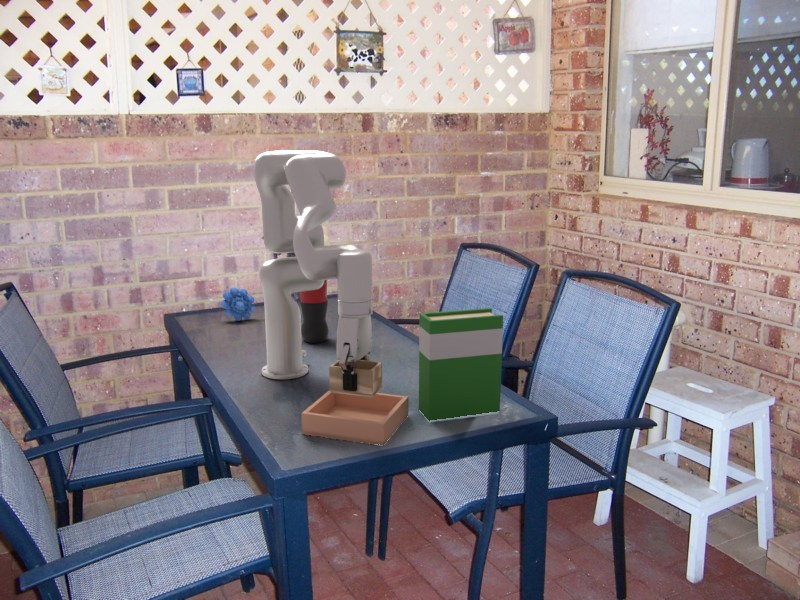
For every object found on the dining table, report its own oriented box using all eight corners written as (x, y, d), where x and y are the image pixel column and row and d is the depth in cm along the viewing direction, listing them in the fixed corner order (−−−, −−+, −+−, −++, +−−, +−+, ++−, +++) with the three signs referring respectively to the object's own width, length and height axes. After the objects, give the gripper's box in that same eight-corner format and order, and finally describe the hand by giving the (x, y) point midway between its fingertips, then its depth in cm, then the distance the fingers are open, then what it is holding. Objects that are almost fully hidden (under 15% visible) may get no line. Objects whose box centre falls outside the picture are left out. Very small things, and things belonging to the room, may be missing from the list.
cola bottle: (329, 336, 235) (327, 243, 227) (327, 344, 226) (325, 248, 219) (302, 336, 234) (299, 243, 227) (300, 344, 226) (297, 248, 219)
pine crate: (341, 382, 169) (340, 357, 167) (382, 387, 166) (382, 362, 164) (329, 392, 163) (329, 366, 161) (372, 397, 160) (371, 371, 158)
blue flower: (224, 325, 247) (222, 290, 244) (220, 320, 253) (218, 286, 250) (258, 322, 251) (257, 287, 248) (254, 317, 257) (252, 283, 254)
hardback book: (487, 402, 180) (490, 307, 174) (499, 414, 173) (503, 315, 167) (418, 410, 175) (419, 313, 169) (428, 422, 168) (430, 321, 162)
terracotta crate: (333, 406, 177) (332, 387, 176) (408, 416, 171) (408, 396, 170) (302, 434, 161) (301, 413, 160) (383, 446, 156) (383, 424, 154)
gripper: (354, 297, 169) (355, 371, 173) (322, 315, 153) (324, 396, 157) (384, 299, 167) (385, 374, 171) (356, 318, 151) (357, 400, 155)
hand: (356, 384), depth 164 cm, fingers closed on pine crate, 6 cm apart
